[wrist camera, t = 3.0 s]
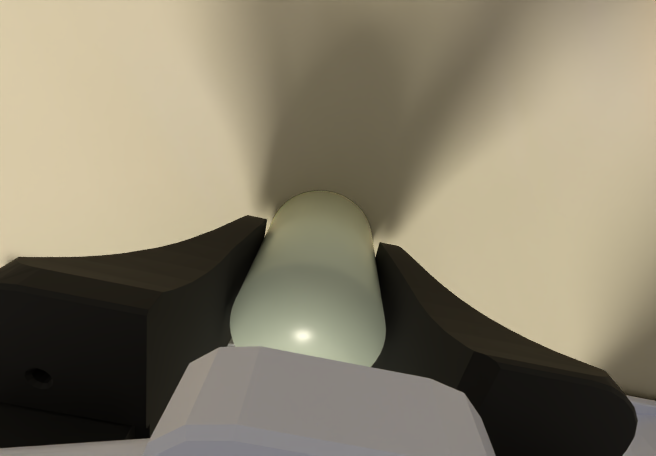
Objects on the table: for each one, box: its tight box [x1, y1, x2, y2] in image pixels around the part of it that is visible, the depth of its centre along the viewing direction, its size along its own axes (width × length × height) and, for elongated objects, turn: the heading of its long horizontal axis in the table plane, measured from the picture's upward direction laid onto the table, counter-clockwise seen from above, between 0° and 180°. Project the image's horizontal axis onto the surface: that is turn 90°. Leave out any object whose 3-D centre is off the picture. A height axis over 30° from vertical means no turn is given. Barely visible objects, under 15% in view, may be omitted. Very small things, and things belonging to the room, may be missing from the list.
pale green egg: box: [230, 191, 386, 367], centre depth 11 cm, size 4×4×5 cm
